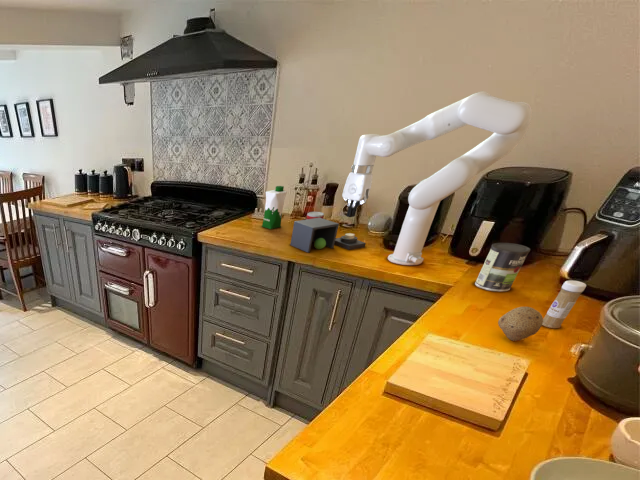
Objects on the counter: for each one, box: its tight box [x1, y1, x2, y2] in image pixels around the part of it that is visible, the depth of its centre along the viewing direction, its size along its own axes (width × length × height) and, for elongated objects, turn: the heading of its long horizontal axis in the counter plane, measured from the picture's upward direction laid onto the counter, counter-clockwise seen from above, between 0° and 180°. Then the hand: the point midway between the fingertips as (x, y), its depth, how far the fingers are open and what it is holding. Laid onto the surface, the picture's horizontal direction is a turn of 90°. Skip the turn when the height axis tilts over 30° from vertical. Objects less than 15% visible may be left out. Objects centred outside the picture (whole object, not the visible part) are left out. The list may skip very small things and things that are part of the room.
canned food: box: [305, 211, 325, 220], centre depth 204 cm, size 8×8×11 cm
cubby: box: [289, 218, 340, 253], centre depth 191 cm, size 13×14×11 cm
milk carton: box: [261, 185, 288, 230], centre depth 219 cm, size 9×9×20 cm
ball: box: [313, 238, 326, 250], centre depth 189 cm, size 5×5×5 cm
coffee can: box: [474, 242, 531, 293], centre depth 144 cm, size 10×10×14 cm
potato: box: [497, 306, 544, 342], centre depth 115 cm, size 9×9×10 cm
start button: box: [344, 232, 356, 239], centre depth 191 cm, size 4×4×2 cm
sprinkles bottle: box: [542, 279, 587, 329], centre depth 119 cm, size 5×5×13 cm
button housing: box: [334, 235, 366, 251], centre depth 192 cm, size 12×9×4 cm
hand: (350, 216), depth 178 cm, fingers closed
